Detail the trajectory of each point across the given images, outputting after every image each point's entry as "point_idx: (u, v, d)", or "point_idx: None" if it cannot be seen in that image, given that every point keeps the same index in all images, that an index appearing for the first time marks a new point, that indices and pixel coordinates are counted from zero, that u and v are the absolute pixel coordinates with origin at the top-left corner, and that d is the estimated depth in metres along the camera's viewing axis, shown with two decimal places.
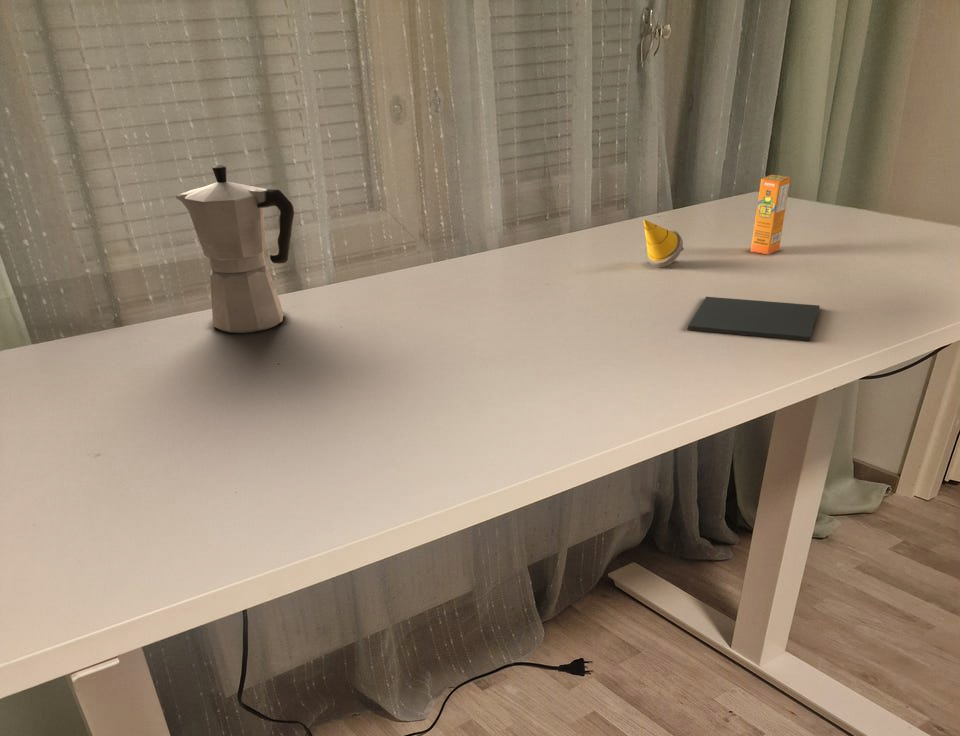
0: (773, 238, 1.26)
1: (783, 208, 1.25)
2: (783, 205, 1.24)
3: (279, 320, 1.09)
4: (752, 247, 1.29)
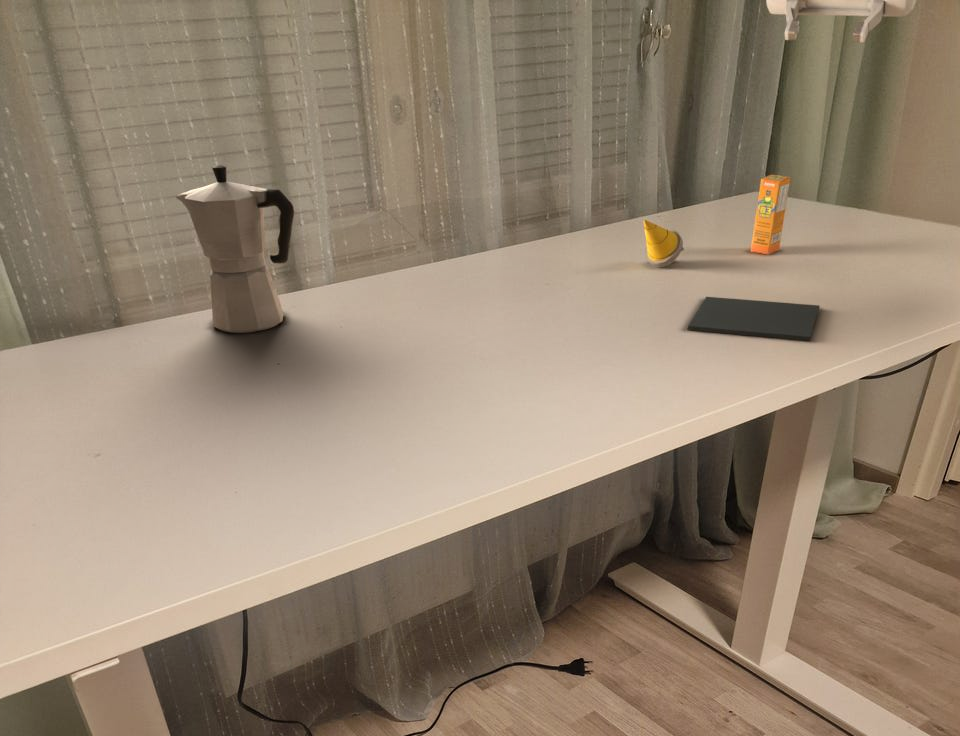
0: (773, 238, 1.26)
1: (783, 208, 1.25)
2: (783, 205, 1.24)
3: (279, 320, 1.09)
4: (752, 247, 1.29)
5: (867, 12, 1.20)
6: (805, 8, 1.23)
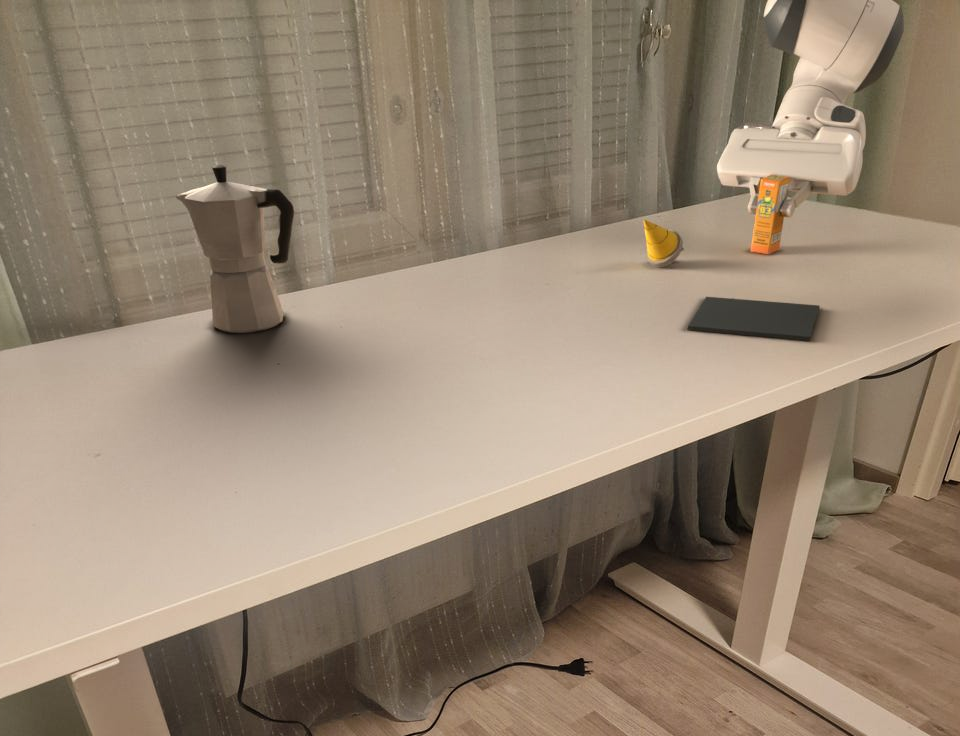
0: (773, 238, 1.26)
1: None
2: None
3: (279, 320, 1.09)
4: (752, 247, 1.29)
5: (811, 189, 1.24)
6: None
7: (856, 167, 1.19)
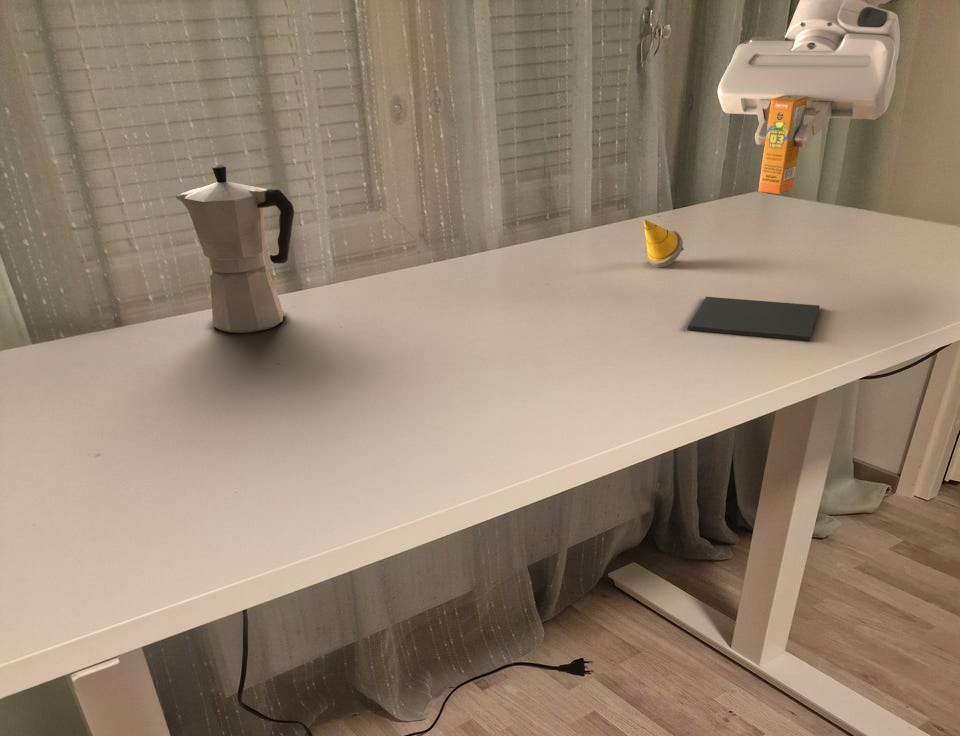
0: (786, 173, 1.04)
1: None
2: None
3: (279, 320, 1.09)
4: (760, 186, 1.06)
5: (833, 113, 1.02)
6: None
7: (889, 82, 0.97)
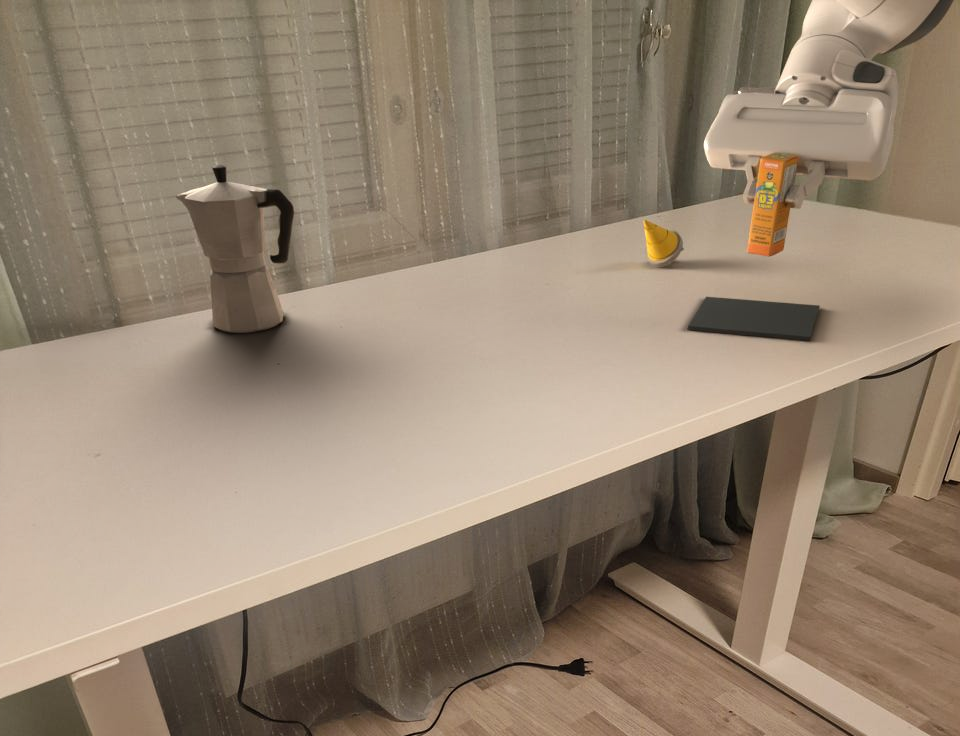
0: (776, 235, 0.98)
1: None
2: None
3: (279, 320, 1.09)
4: (749, 247, 1.00)
5: (826, 172, 0.96)
6: None
7: (886, 142, 0.91)
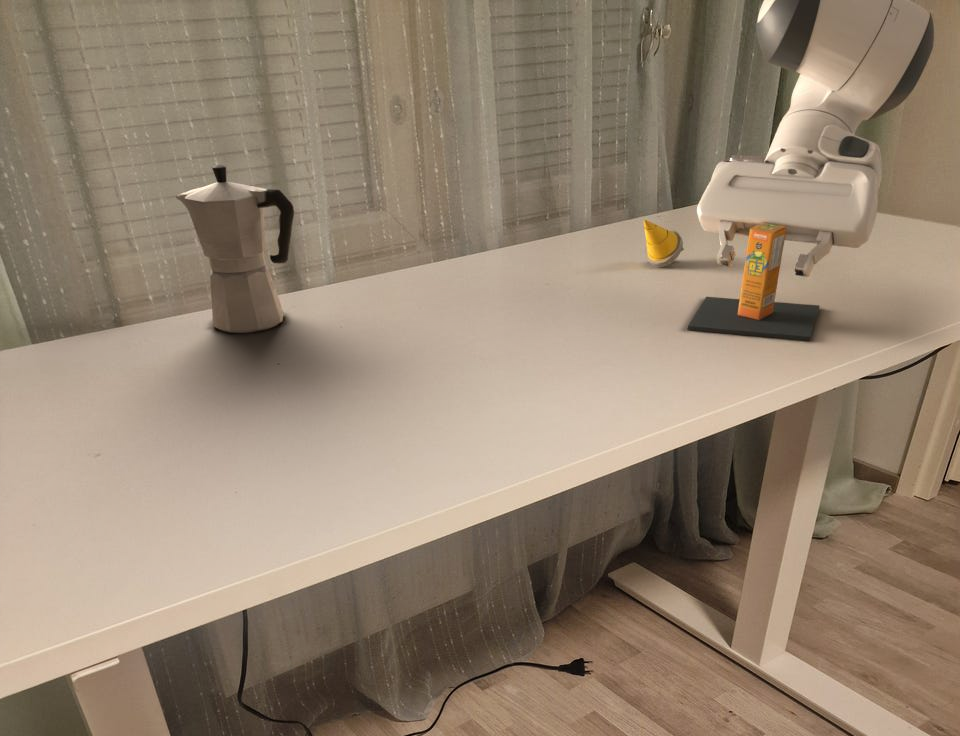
0: (765, 300, 1.02)
1: (777, 264, 1.00)
2: (777, 261, 1.00)
3: (279, 320, 1.09)
4: (739, 310, 1.04)
5: (814, 239, 1.00)
6: (743, 228, 1.04)
7: (870, 214, 0.95)
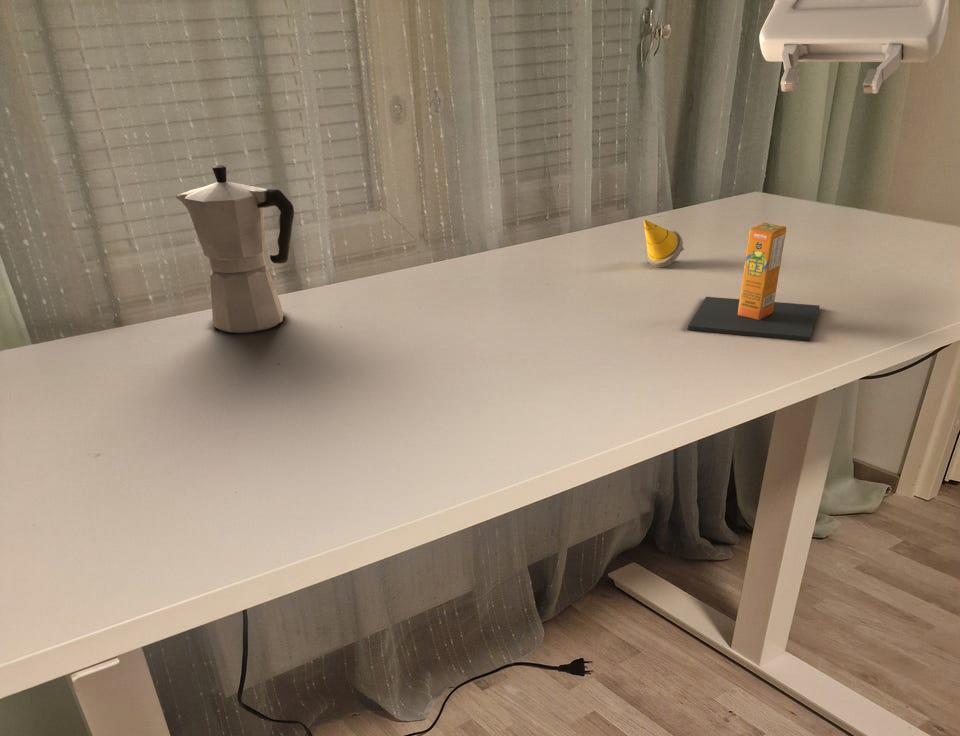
0: (765, 300, 1.02)
1: (777, 264, 1.00)
2: (777, 261, 1.00)
3: (279, 320, 1.09)
4: (739, 310, 1.04)
5: (882, 57, 0.98)
6: (807, 54, 1.02)
7: (942, 21, 0.93)
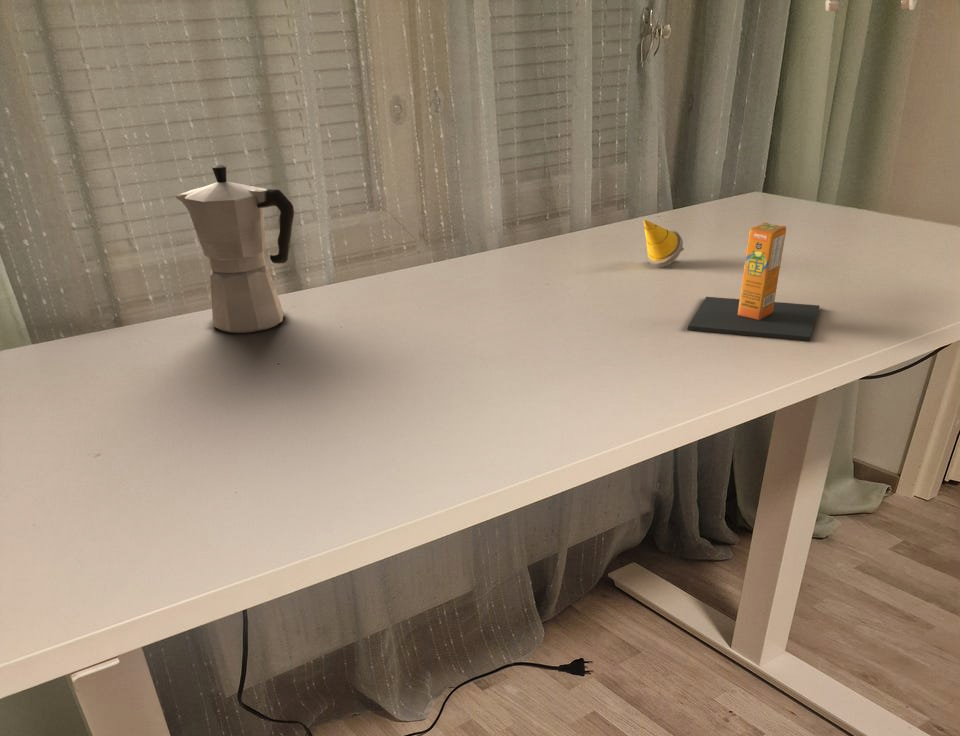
0: (765, 300, 1.02)
1: (777, 264, 1.00)
2: (777, 261, 1.00)
3: (279, 320, 1.09)
4: (739, 310, 1.04)
5: None
6: None
7: None
